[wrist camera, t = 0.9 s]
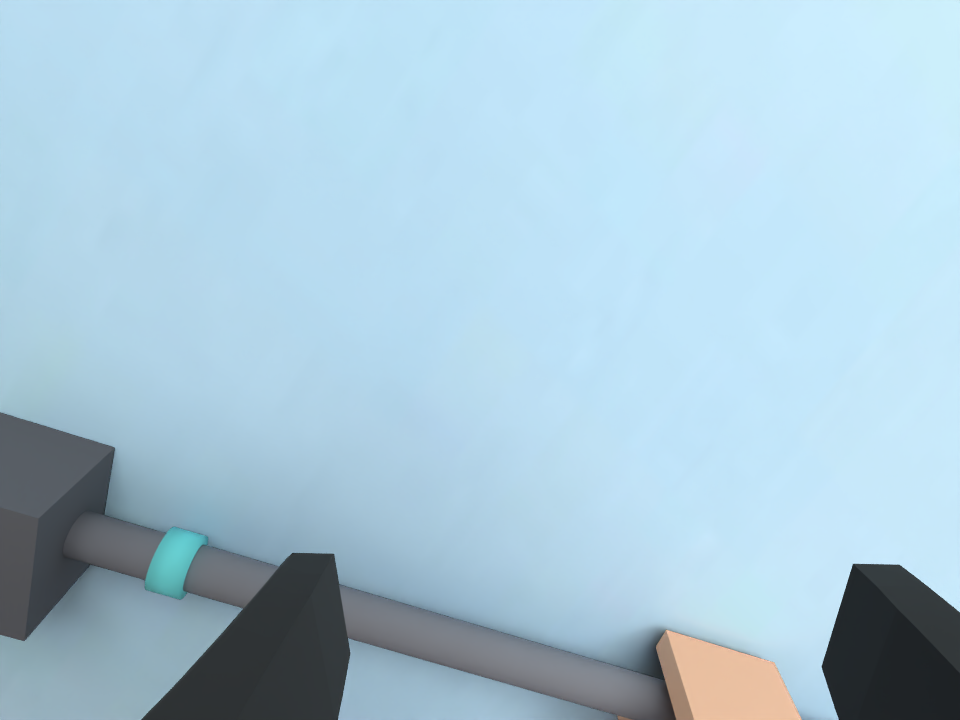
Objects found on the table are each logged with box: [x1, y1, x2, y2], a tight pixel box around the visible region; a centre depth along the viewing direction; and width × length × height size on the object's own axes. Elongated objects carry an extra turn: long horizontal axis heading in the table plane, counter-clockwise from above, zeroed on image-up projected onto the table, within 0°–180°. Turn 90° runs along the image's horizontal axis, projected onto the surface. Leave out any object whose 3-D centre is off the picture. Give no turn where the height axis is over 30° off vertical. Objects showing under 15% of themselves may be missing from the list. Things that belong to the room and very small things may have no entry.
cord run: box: [0, 413, 676, 720], centre depth 21 cm, size 36×7×4 cm, turn 70°
